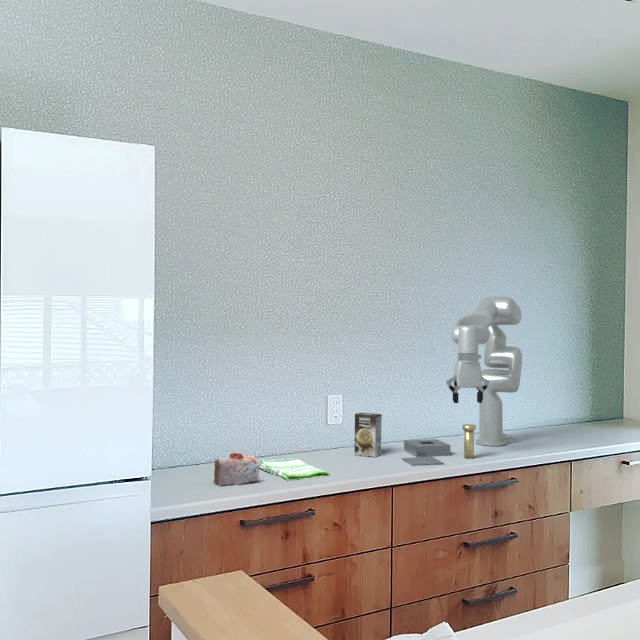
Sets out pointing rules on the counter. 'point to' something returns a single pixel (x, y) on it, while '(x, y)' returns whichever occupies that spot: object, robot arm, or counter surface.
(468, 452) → the brass flanged peg
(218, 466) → the food item
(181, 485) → the counter surface
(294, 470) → the dish towel
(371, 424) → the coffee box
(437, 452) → the block
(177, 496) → the counter surface
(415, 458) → the mat
